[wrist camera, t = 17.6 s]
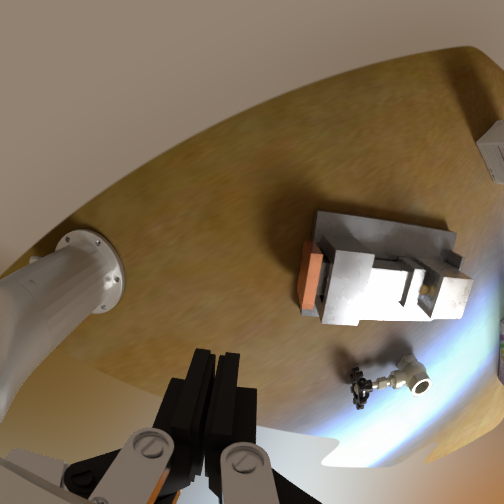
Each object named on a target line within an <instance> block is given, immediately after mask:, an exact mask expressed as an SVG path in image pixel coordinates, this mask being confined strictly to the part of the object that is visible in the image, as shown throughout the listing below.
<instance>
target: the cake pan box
mask: <svg viewBox="0 0 504 504" xmlns="http://www.w3.org/2000/svg"><path fill="white" fill-rule="evenodd" d="M499 380H500V381H501V383H502V384H503V385H504V319H502V320H501V321H500V363H499Z"/></svg>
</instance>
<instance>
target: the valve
mask: <svg viewBox="0 0 504 504" xmlns="http://www.w3.org/2000/svg"><path fill="white" fill-rule="evenodd" d="M397 368H398V369H399V370H395V371H392V372H391V374H390V375H389V376H388V378H386V377H381V378H377V379H376V382H372V381H371V380H366V379H365V378H362V377H363V372H362V371H359V368H358V367H356V368H352V374H350V380H351V381H352V386H351V393H353V395H354V398H353V404H354V405H355V404H356V408H357V410H359V409H363V408H364V405H363V404H366V402H367V401H366V400H367V399H368V397H369V392H372V390H373V388H377V389H378V390H380V389H384V388H386V387H387V385H389V386H390V387H392V388H393V389H398V388H401V386H402V385H405V386H407V387H409V389H410V391H411V392H412V394H413V395H414V396H419V395H422V394H424V393H425V392H426V391H427V390H428V389H429V388H430V386H431V385H432V382H431V380H430V378H429V377H428V375H427V371H426V368H425V366H424V365H423V364H422V363H420V362H418V361H417V359H416V357H415V356H414V355H413V354H411V355H407V356H403V357H402V358H401V360H400V361H399V363H398V364H397ZM357 371H359V372H357ZM363 394H365V396H364V397H363Z"/></svg>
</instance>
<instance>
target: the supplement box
mask: <svg viewBox="0 0 504 504" xmlns="http://www.w3.org/2000/svg"><path fill="white" fill-rule="evenodd" d="M476 145H477V147H478V149H479V151H480V153H481V155H482V157H483V159H484V161H485V164H486V166H487V168H488V170H489V173H490V175H491V177H492V179H493V182H494V183H499V184H504V120H500V121H496V122H495V123H494V125H493V126H492V127H491V128H490V129H489V130H488V131H487V132H486V133H485V134H484V135H483V136H482V137H481V138H480V139H479V140H477V141H476Z"/></svg>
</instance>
